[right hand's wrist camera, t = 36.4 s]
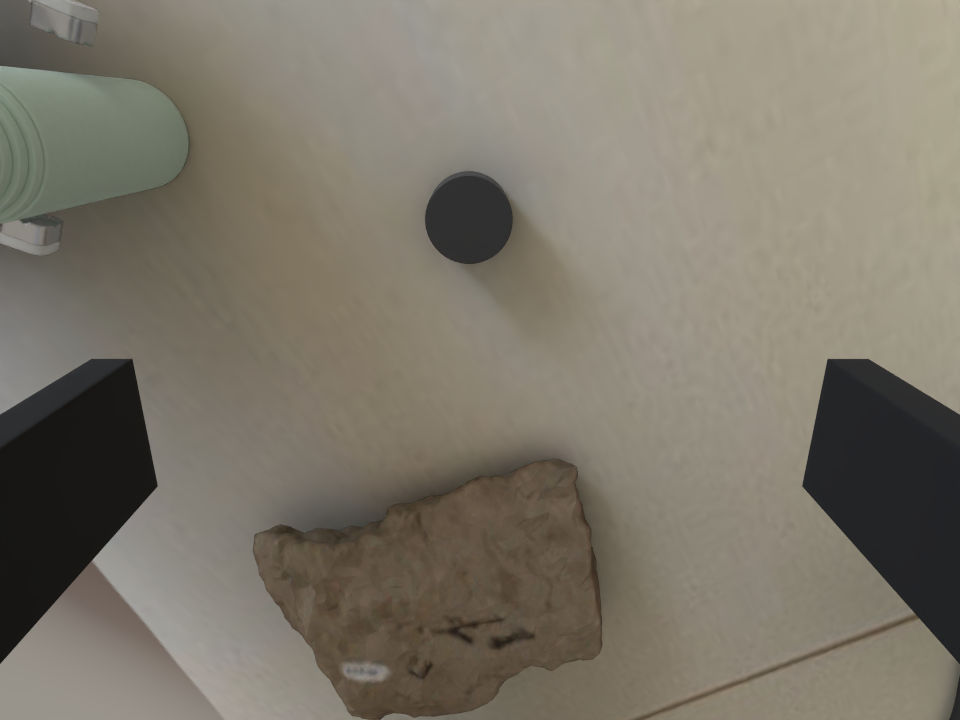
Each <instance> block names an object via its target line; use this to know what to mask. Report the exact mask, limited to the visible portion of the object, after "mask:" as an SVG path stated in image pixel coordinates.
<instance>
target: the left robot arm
mask: <svg viewBox="0 0 960 720" xmlns="http://www.w3.org/2000/svg"><path fill="white" fill-rule="evenodd" d="M28 1H29V2H30V3H31V4H32V9H31V18H30V25H31V26H33V27H35V28H38V29H40V30H43V31H45V32H48V33H53V34H56V35H57V36H58V37H60V38H62V39H65V40H67V41H70V42H73V43H77V44H81V45H84V44H85V45H88V46H92V47H93V44H94V39H95V34H96V29H97V23H98V18H99V12H100V11H98V10H96V9H94V8H92V7H89V6H87V5H84V4H82V3H80V2H77V1H75V0H28ZM62 227H63V221H62V220H61V219H59V218H56V217H54V216H53V217H47V216H46V215H45V214H41V215H37V216H33V217H29V218H24V219H20V220H16V221H11V222H7V223H2V226H1V227H0V245H2V244H3V245H6V246H9V247H12V248H15V249H18V250H21V251H23V252H26V253H29V254H32V255H39V256H45V255H48V254H51V253H54V252H57V251H58V250H59V244H60V239H61V233H62Z"/></svg>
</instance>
